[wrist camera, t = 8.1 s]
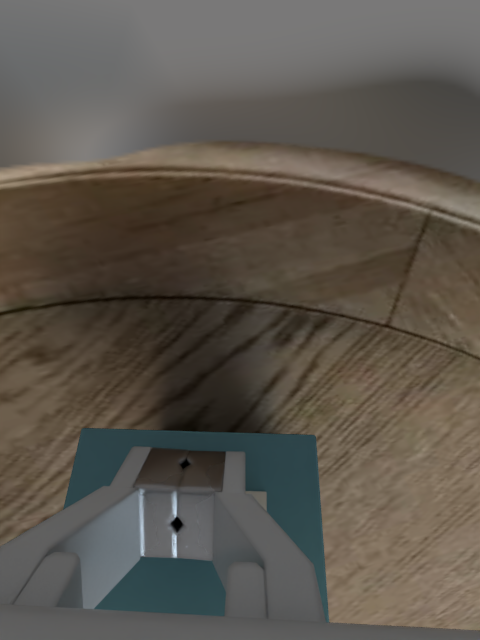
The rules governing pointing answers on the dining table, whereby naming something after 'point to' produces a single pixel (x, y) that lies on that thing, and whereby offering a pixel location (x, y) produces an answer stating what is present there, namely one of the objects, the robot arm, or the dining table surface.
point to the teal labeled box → (260, 480)
